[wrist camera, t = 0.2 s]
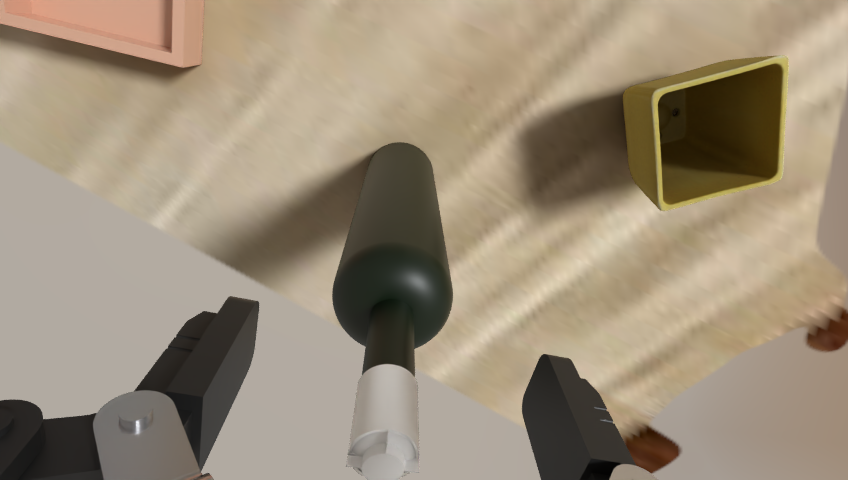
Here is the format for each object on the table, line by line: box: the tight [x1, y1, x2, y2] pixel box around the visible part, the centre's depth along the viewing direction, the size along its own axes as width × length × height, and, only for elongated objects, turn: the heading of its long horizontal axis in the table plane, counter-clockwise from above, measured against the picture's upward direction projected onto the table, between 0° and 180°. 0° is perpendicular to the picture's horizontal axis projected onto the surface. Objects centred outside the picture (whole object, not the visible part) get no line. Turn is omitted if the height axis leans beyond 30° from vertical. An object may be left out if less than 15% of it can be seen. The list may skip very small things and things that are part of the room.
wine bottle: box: [332, 143, 453, 480], centre depth 27 cm, size 6×6×30 cm
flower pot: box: [623, 55, 789, 211], centre depth 35 cm, size 9×9×9 cm
